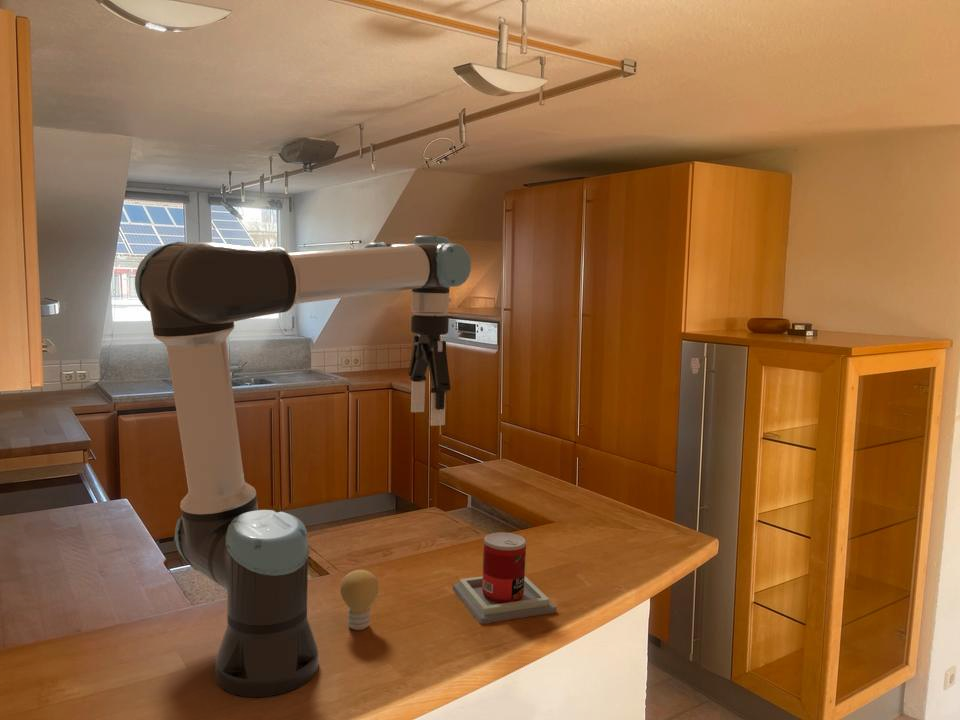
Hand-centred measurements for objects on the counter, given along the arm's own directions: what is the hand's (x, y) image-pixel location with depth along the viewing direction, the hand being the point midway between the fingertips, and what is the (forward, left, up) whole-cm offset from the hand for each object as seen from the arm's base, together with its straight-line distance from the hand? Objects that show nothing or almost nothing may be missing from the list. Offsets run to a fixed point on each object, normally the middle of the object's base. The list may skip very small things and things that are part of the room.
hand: (427, 418), depth 146 cm
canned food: (+10, -19, -31) cm, 38 cm away
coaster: (+10, -19, -32) cm, 38 cm away
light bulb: (-18, -21, -32) cm, 42 cm away
